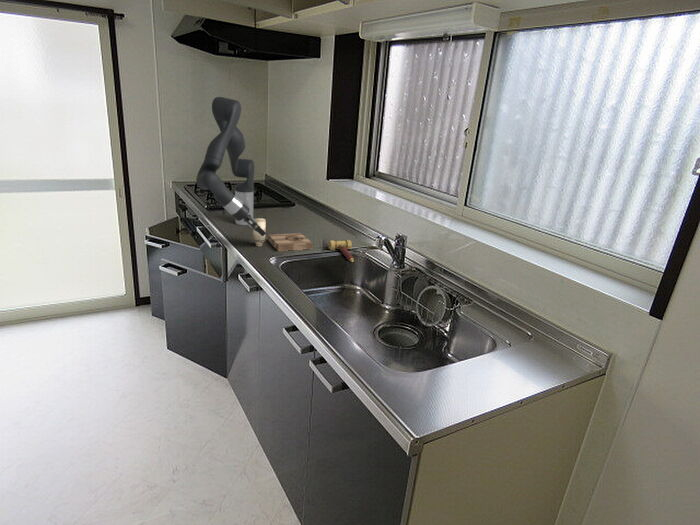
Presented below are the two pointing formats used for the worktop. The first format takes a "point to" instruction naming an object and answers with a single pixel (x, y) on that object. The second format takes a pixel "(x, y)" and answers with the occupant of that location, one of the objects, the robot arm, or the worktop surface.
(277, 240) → the board
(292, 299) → the worktop surface
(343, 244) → the gavel
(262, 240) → the cream upside-down bottle
